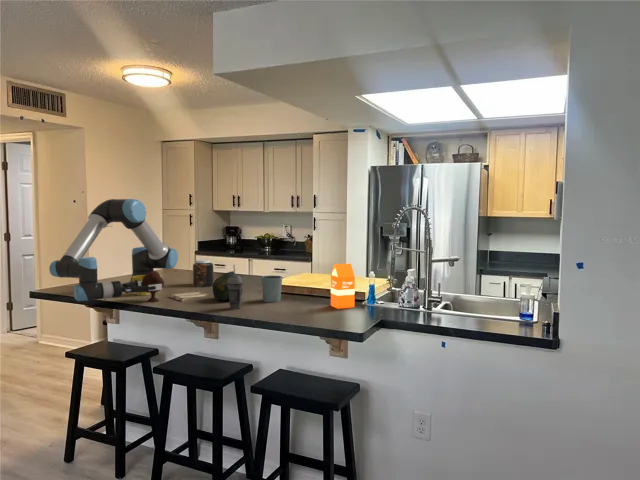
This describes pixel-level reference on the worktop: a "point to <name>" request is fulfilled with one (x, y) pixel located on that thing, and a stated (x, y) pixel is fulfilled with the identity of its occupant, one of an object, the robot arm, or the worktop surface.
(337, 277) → the orange juice
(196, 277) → the jar
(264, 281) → the blue-grey cup
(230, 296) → the beverage cup
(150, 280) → the ice cream bowl
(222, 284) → the squash
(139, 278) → the plant pot
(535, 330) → the worktop surface
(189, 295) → the trivet
